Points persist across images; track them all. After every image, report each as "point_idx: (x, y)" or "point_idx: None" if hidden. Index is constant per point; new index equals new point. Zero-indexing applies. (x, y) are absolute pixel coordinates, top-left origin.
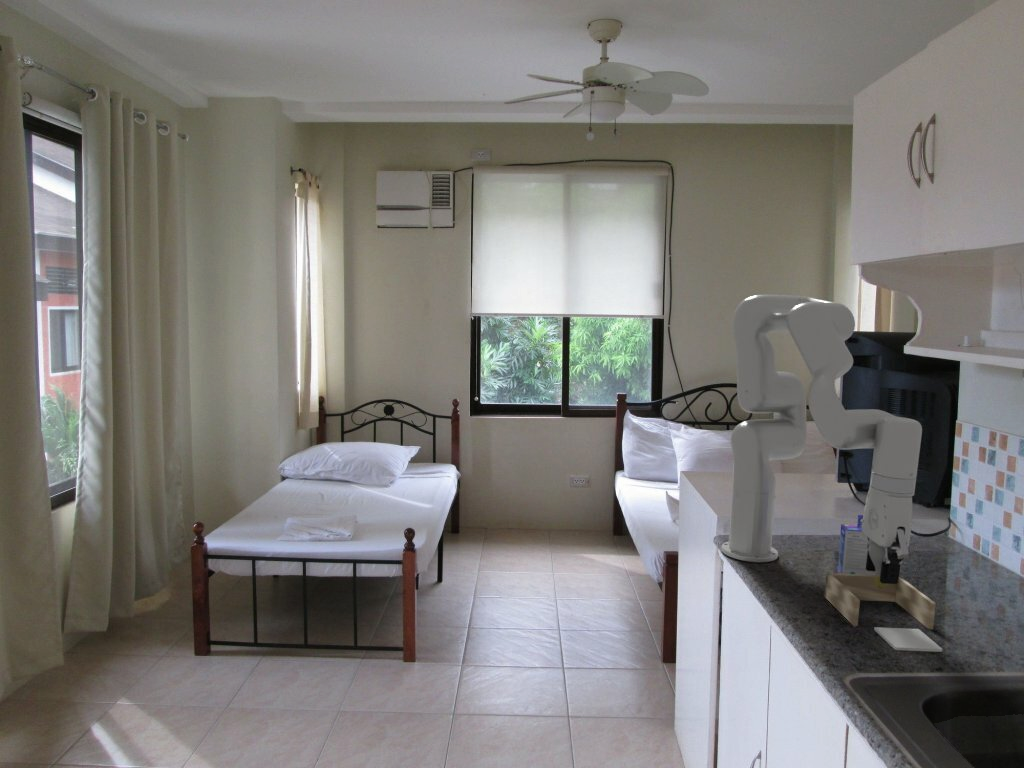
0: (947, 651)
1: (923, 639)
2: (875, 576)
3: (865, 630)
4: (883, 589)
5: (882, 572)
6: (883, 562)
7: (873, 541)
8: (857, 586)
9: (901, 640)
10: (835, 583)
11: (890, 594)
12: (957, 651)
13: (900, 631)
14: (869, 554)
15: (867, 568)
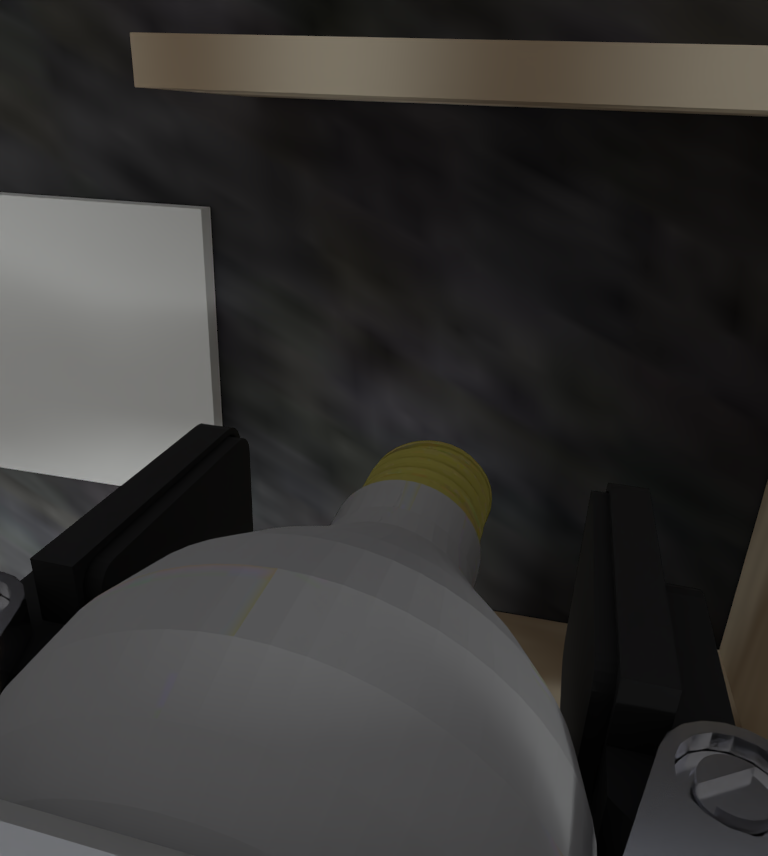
0: (3, 488)
1: (71, 436)
2: (427, 481)
3: (195, 131)
4: (765, 630)
5: (135, 483)
6: (40, 567)
7: (12, 810)
8: None
9: (26, 288)
10: (715, 45)
11: (739, 653)
12: (16, 537)
13: (159, 362)
14: (352, 548)
15: (609, 498)
